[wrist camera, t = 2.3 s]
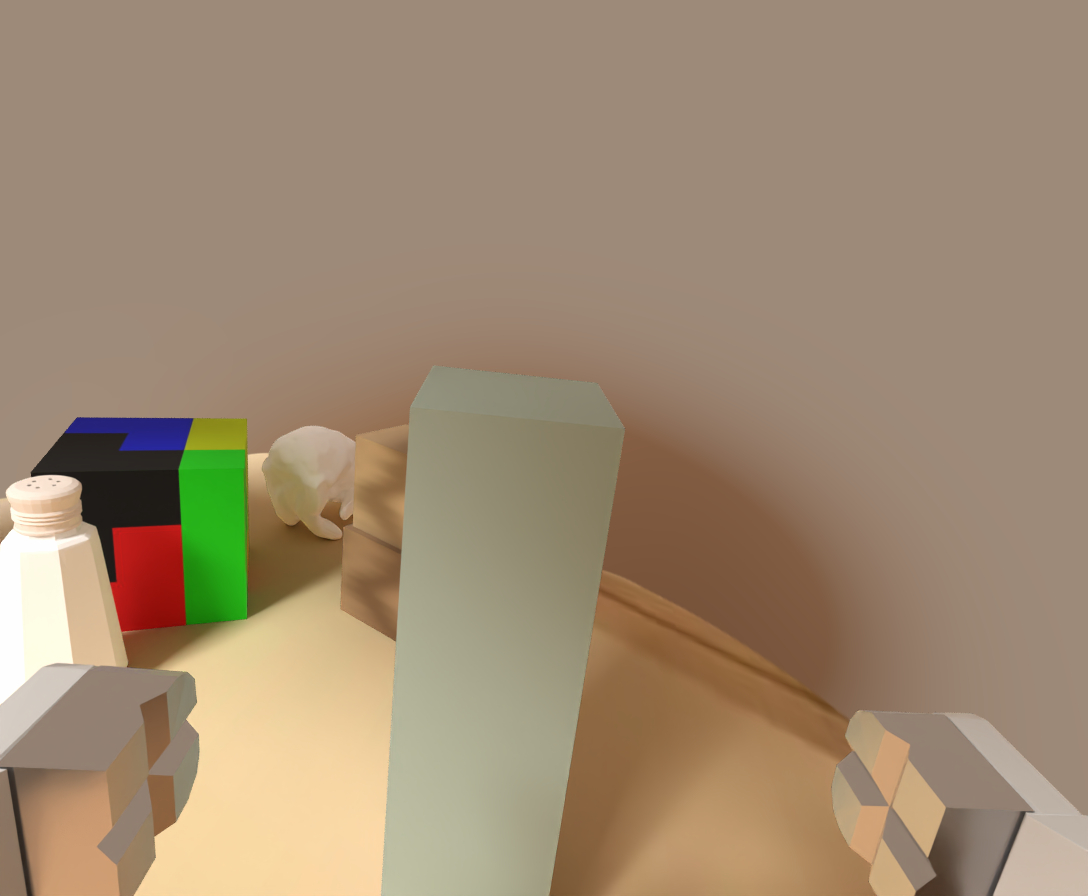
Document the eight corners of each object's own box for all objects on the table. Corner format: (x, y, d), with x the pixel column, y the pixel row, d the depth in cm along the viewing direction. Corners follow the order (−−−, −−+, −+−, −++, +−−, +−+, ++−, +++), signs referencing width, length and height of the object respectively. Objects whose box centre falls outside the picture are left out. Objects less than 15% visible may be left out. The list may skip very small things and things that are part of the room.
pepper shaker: (8, 738, 30) (-26, 516, 27) (-9, 675, 34) (-41, 473, 30) (143, 692, 34) (127, 492, 31) (115, 640, 37) (98, 457, 34)
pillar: (376, 971, 23) (409, 406, 17) (400, 833, 28) (433, 365, 22) (536, 976, 23) (624, 428, 17) (530, 839, 28) (597, 383, 22)
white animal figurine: (256, 422, 50) (364, 410, 60) (248, 529, 52) (355, 498, 62) (319, 442, 47) (420, 425, 58) (309, 553, 49) (409, 517, 60)
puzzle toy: (90, 556, 46) (77, 417, 43) (249, 546, 50) (246, 418, 47) (51, 639, 37) (30, 472, 34) (247, 619, 41) (244, 468, 38)
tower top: (352, 526, 42) (355, 435, 40) (431, 498, 47) (436, 417, 45) (434, 565, 38) (441, 467, 36) (508, 530, 44) (518, 444, 42)
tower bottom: (340, 610, 43) (343, 526, 41) (426, 569, 50) (432, 495, 48) (430, 663, 39) (437, 572, 37) (511, 611, 46) (521, 531, 44)
